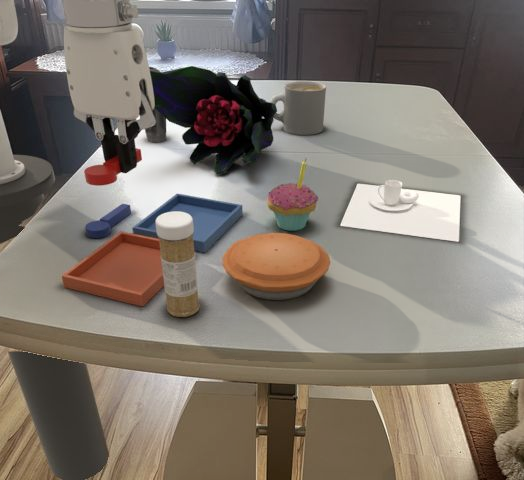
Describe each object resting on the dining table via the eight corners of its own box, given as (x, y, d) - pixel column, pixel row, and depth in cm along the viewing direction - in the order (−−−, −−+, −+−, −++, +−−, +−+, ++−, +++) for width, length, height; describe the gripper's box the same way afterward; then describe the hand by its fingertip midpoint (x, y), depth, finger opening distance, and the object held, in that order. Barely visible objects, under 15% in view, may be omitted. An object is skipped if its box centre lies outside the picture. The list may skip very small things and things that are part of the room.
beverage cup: (177, 136, 133) (169, 42, 120) (164, 145, 127) (154, 49, 115) (149, 133, 134) (139, 40, 122) (135, 142, 129) (123, 46, 116)
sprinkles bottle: (194, 297, 77) (187, 207, 69) (204, 314, 74) (197, 222, 66) (162, 303, 76) (151, 213, 68) (170, 321, 73) (159, 228, 64)
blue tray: (133, 238, 91) (132, 227, 90) (177, 203, 102) (177, 193, 101) (204, 252, 87) (204, 242, 86) (242, 214, 98) (242, 204, 97)
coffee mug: (322, 123, 141) (325, 81, 135) (323, 135, 134) (326, 91, 127) (271, 121, 142) (271, 80, 136) (268, 134, 134) (268, 90, 128)
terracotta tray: (64, 287, 79) (61, 275, 78) (122, 241, 90) (120, 231, 89) (142, 306, 75) (141, 295, 74) (194, 256, 86) (193, 245, 85)
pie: (320, 253, 87) (323, 224, 84) (335, 308, 75) (338, 277, 72) (224, 255, 87) (222, 226, 84) (222, 310, 75) (221, 279, 72)
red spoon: (125, 157, 79) (123, 146, 78) (149, 161, 78) (148, 149, 77) (79, 183, 71) (77, 170, 70) (105, 187, 70) (103, 175, 69)
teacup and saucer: (418, 199, 104) (422, 178, 102) (414, 216, 98) (419, 194, 96) (372, 193, 106) (374, 172, 104) (366, 210, 100) (368, 188, 98)
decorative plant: (270, 195, 128) (205, 209, 103) (187, 132, 132) (104, 131, 106) (317, 112, 118) (258, 106, 92) (225, 47, 121) (144, 23, 96)
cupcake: (320, 218, 97) (325, 150, 90) (308, 239, 91) (313, 168, 84) (274, 212, 100) (275, 145, 92) (259, 232, 93) (260, 162, 86)
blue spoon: (118, 210, 99) (116, 202, 98) (137, 214, 98) (135, 205, 97) (81, 236, 92) (79, 227, 91) (101, 240, 90) (100, 231, 89)
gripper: (172, 13, 65) (185, 167, 76) (63, 6, 69) (90, 153, 81) (138, 22, 59) (157, 186, 71) (22, 14, 64) (58, 170, 75)
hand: (122, 167), depth 76 cm, fingers closed on red spoon, 1 cm apart
